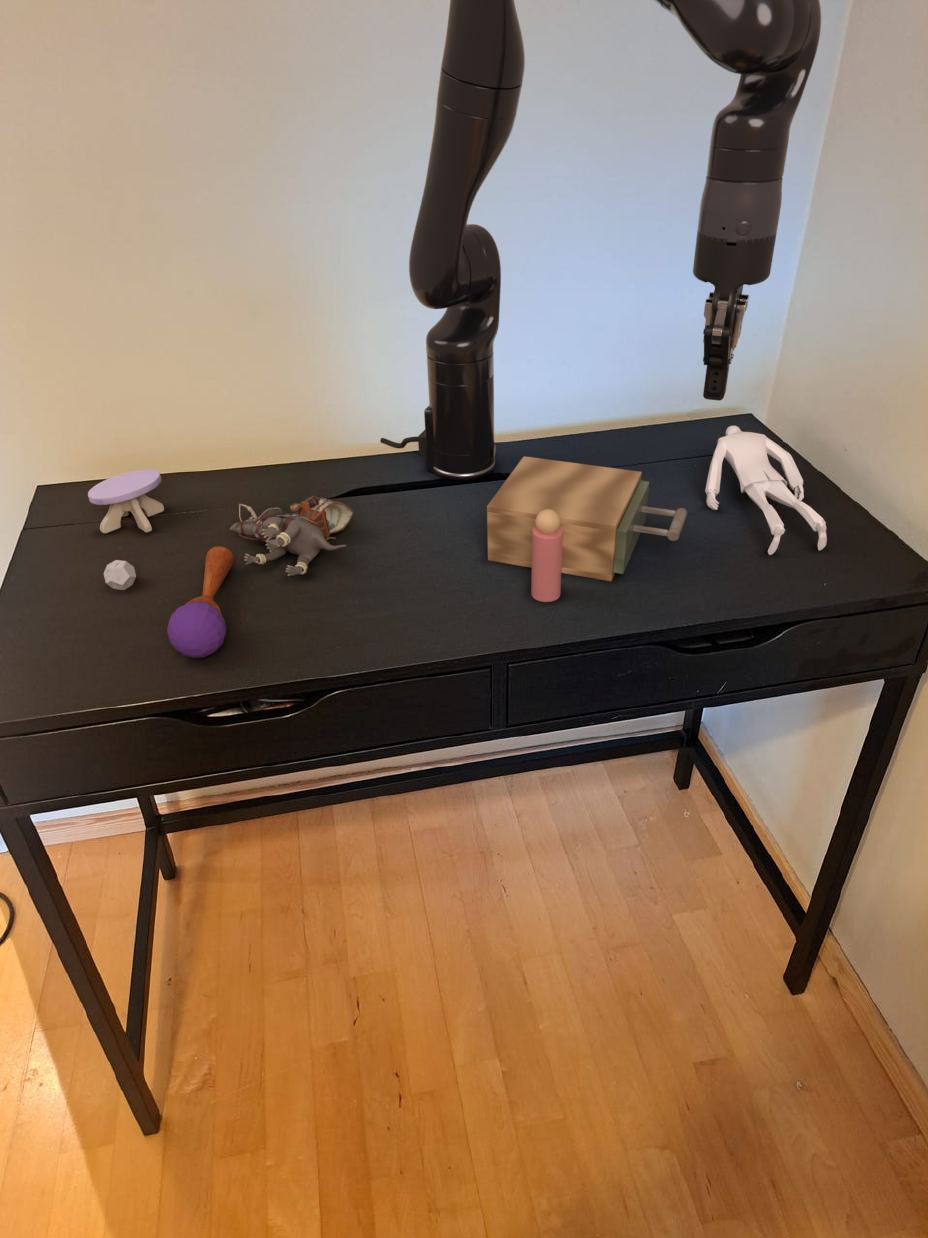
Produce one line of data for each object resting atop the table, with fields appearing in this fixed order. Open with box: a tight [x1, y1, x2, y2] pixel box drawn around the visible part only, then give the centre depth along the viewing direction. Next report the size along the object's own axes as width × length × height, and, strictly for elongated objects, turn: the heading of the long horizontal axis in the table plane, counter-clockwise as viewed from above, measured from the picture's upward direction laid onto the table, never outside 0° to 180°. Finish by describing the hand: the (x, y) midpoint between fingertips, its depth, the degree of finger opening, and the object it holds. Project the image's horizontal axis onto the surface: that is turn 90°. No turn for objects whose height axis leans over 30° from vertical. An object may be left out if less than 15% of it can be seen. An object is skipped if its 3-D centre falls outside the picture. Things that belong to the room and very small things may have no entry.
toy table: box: [87, 468, 165, 534], centre depth 121 cm, size 10×9×6 cm
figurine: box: [229, 495, 354, 577], centre depth 114 cm, size 20×6×17 cm
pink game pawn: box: [530, 509, 563, 603], centre depth 101 cm, size 3×3×11 cm
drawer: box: [613, 480, 688, 575], centre depth 111 cm, size 20×13×6 cm
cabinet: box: [486, 456, 643, 582], centre depth 112 cm, size 16×15×8 cm
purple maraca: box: [166, 546, 235, 659], centre depth 102 cm, size 6×6×20 cm
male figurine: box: [704, 425, 828, 556], centre depth 119 cm, size 14×6×25 cm
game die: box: [103, 559, 137, 591], centre depth 108 cm, size 4×4×3 cm
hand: (713, 397), depth 97 cm, fingers closed
